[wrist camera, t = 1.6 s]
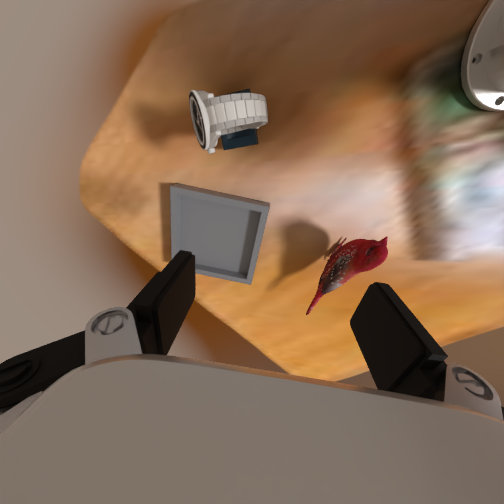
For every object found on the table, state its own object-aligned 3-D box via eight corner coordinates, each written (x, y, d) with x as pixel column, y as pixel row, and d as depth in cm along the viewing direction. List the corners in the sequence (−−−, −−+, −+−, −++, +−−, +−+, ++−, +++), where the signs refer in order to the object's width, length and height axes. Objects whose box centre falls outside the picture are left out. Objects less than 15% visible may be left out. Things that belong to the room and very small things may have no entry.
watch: (204, 105, 26) (165, 83, 16) (265, 91, 25) (261, 59, 15) (215, 152, 28) (186, 157, 19) (271, 142, 27) (270, 142, 18)
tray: (176, 183, 31) (170, 185, 29) (269, 202, 31) (269, 207, 29) (177, 261, 38) (171, 268, 36) (252, 277, 39) (250, 284, 37)
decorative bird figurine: (369, 219, 31) (407, 249, 22) (307, 294, 40) (317, 337, 31) (354, 211, 31) (386, 239, 22) (295, 288, 39) (301, 330, 30)
